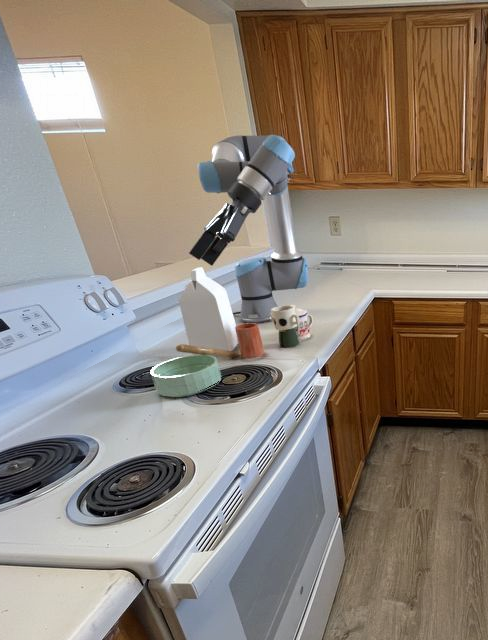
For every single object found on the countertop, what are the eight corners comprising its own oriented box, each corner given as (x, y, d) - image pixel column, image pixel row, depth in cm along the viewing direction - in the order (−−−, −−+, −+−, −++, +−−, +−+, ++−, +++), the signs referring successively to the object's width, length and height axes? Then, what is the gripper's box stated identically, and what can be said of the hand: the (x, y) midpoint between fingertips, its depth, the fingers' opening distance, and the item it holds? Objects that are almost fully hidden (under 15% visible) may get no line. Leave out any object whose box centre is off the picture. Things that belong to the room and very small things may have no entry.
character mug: (269, 348, 135) (261, 309, 130) (283, 341, 141) (276, 304, 136) (296, 352, 131) (289, 312, 126) (310, 344, 137) (303, 306, 132)
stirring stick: (172, 346, 106) (233, 354, 129) (176, 353, 105) (236, 359, 129) (178, 342, 105) (238, 350, 129) (182, 348, 105) (241, 356, 129)
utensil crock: (238, 357, 129) (231, 326, 124) (258, 351, 133) (251, 321, 129) (248, 362, 125) (241, 330, 121) (268, 356, 129) (261, 325, 125)
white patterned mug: (295, 344, 139) (289, 310, 134) (278, 339, 143) (271, 306, 139) (322, 334, 148) (318, 301, 143) (305, 330, 152) (300, 299, 148)
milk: (231, 354, 131) (210, 271, 120) (192, 357, 130) (167, 273, 119) (241, 342, 142) (222, 264, 131) (205, 345, 140) (184, 266, 130)
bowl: (149, 388, 110) (141, 367, 107) (208, 370, 120) (202, 350, 118) (170, 405, 100) (162, 382, 98) (232, 383, 111) (227, 363, 108)
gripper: (279, 202, 99) (227, 274, 96) (247, 202, 117) (202, 263, 114) (251, 177, 94) (196, 253, 91) (222, 181, 112) (175, 245, 109)
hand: (199, 259), depth 103 cm, fingers open, 13 cm apart
